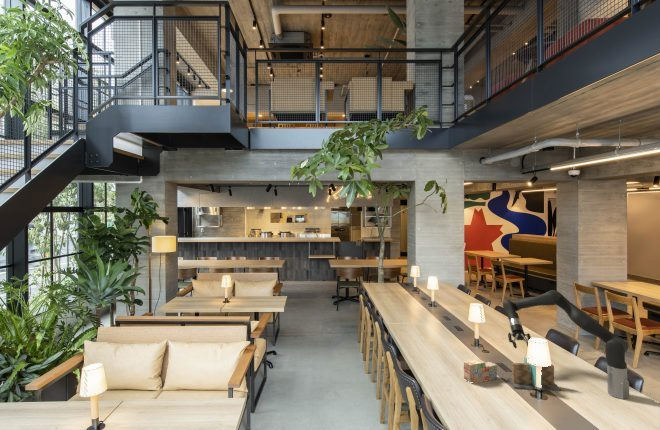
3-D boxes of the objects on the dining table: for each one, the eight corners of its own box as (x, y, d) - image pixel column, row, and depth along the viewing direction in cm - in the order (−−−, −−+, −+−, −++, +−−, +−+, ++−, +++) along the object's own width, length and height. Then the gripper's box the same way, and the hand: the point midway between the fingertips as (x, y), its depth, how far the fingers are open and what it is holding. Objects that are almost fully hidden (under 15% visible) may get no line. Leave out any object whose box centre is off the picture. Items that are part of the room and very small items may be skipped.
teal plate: (524, 376, 241) (524, 357, 241) (528, 376, 241) (528, 358, 241) (537, 390, 221) (537, 370, 222) (541, 390, 221) (541, 370, 221)
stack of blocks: (490, 375, 246) (489, 357, 246) (497, 379, 240) (496, 360, 240) (463, 380, 240) (463, 361, 240) (470, 384, 234) (469, 364, 234)
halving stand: (551, 382, 235) (551, 361, 235) (560, 390, 223) (560, 369, 223) (507, 380, 239) (507, 359, 239) (514, 388, 227) (513, 367, 227)
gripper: (506, 323, 256) (512, 345, 245) (528, 323, 255) (535, 346, 243) (504, 328, 262) (510, 350, 250) (525, 329, 260) (532, 351, 248)
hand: (522, 348), depth 247 cm, fingers open, 8 cm apart
